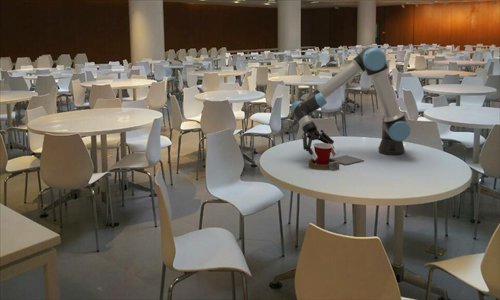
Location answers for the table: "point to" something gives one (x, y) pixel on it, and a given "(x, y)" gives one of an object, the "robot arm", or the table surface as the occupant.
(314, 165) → the walnut collar
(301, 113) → the robot arm
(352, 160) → the rubber pad
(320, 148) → the plastic cup
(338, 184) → the table surface
